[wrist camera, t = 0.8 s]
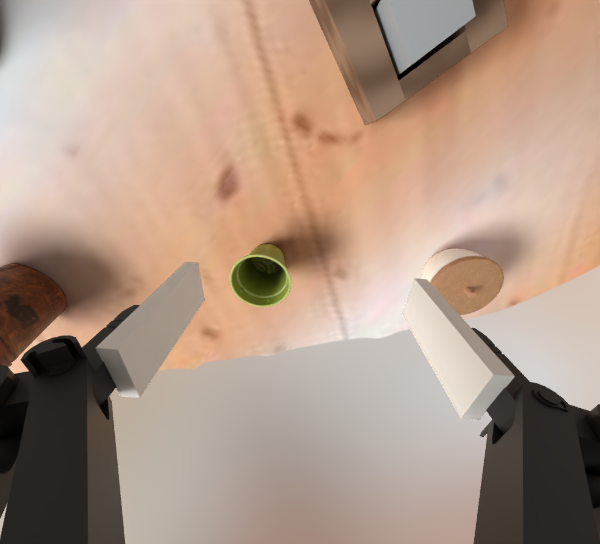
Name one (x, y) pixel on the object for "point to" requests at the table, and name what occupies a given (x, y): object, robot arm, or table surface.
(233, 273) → the plant pot
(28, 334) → the brown tapered cylinder
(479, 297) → the lidded jar
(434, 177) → the table surface
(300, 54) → the table surface
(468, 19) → the slate key
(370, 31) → the key block
